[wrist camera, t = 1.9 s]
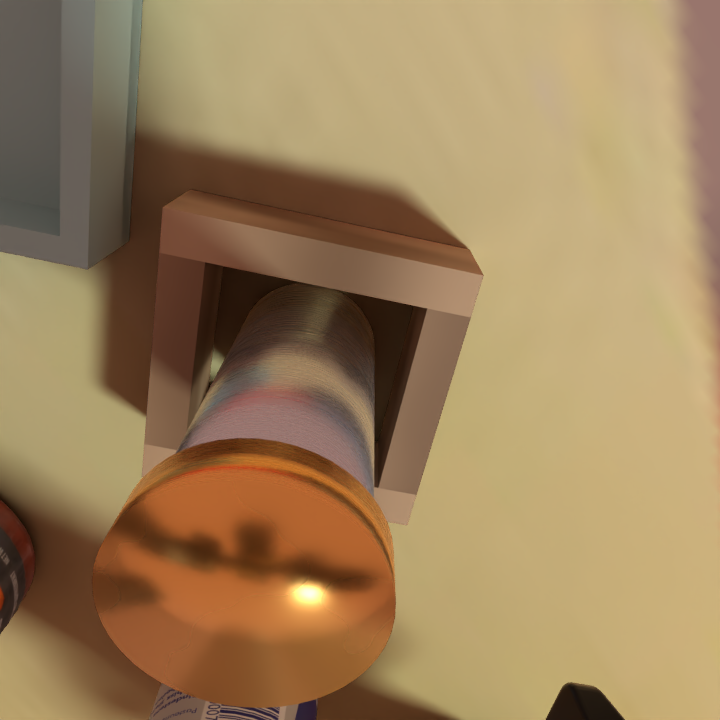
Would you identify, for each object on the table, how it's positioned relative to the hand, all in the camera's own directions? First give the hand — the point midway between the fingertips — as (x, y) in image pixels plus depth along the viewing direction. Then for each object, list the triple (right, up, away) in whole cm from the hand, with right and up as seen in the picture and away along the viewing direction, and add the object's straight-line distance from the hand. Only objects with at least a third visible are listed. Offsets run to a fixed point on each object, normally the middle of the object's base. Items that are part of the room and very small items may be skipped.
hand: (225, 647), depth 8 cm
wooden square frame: (0, +4, +9) cm, 10 cm away
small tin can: (0, +4, +9) cm, 10 cm away
